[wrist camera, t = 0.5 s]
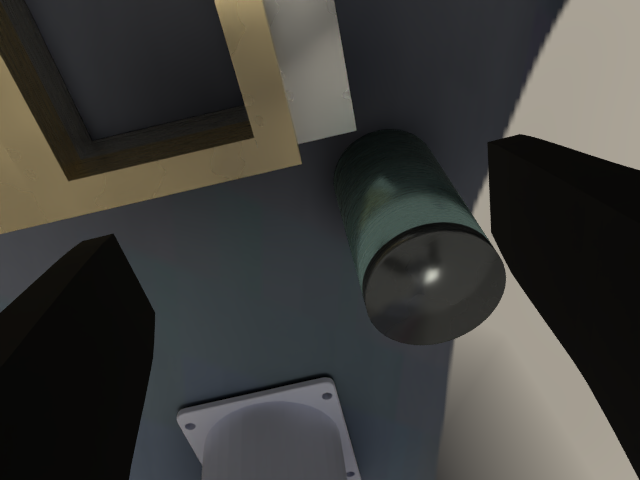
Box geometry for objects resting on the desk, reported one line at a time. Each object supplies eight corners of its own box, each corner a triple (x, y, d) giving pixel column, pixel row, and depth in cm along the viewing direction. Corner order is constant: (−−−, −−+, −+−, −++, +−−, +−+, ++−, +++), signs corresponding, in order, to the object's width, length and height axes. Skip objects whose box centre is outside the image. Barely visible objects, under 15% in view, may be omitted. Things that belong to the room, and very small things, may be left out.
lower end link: (349, 113, 19) (356, 130, 18) (74, 178, 20) (62, 199, 18) (300, -169, 15) (304, -172, 13) (-62, -79, 15) (-89, -75, 14)
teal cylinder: (438, 209, 22) (506, 328, 16) (343, 231, 22) (376, 357, 16) (430, 118, 20) (505, 219, 14) (324, 143, 20) (355, 253, 14)
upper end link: (295, 126, 19) (302, 164, 17) (21, 190, 20) (-12, 236, 17) (227, -151, 15) (223, -155, 12) (-131, -62, 15) (-206, -49, 12)
